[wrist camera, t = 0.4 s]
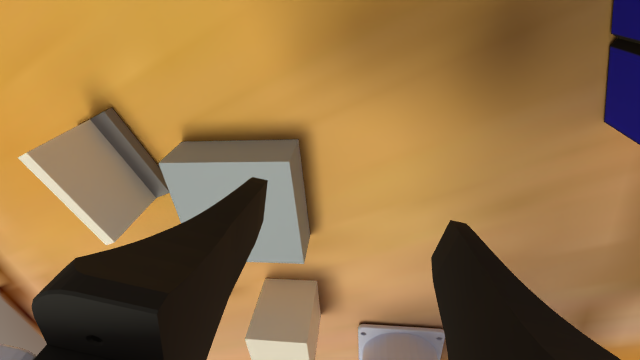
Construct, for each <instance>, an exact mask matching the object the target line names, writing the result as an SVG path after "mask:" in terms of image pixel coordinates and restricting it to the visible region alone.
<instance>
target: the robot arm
mask: <svg viewBox="0 0 640 360" xmlns="http://www.w3.org/2000/svg"><path fill="white" fill-rule="evenodd" d="M267 183H268V180H264V179H260V178H255V177H252V178H250V179H249V180H247V181H246V182H245V183H243V184H242V185H241V186H240V187H238V188H237V189H236V190H234V191H233V192H232V193H230V194H229V195H227V196H226V197H225V198H223V199H222V200H220V201H219V202H217V203H216V204H214V205H213V206H211V207H210V208H208V209H206V210H205V211H203V212H202V213H200V214H198V215H196V216H195V217H193V218H191V219H189V220H187V221H185V222H183V223H181V224H179V225H177V226H175V227H173V228H170V229H168V230H165V231H163V232H161V233H158V234H156V235H153V236H151V237H148V238H145V239H143V240H140V241H137V242H134V243H131V244H127V245H124V246H121V247H118V248H114V249H111V250H107V251H103V252H99V253H95V254H91V255H87V256H82V257H78V258H75V259H74V260H73V261H72V262H71V263H70V264H69V265H67V266H66V267H65V268H64V269H63V270H62V271H61V272H60V273H59V274H58V275H57V276H56V277H55V278H54V279H53V280H52V281H51V282H50V283H49V284H48V285H47V286H46V287H45V288H44V289H43V290H42V291H41V292H40V293H39V294H38V295H37V296H36V297H35V298H34V299H33V303H32V311H33V315H34V318H35V320H36V322H37V324H38V326H39V328H40V330H41V332H42V334H43V337H44V339H45V341H46V343H47V345H46V346H45V348H44V349H43V350H42V351H41V352H40V353H39V354H38V355H37V357H36V356H35V355H34V354H33V353H31V352H30V351H27V350H25V349H22V348H18V347H13V346H8V345H4V344H0V360H206V359H207V356H208V353H209V351H210V348H211V345H212V342H213V339H214V337H215V334H216V331H217V328H218V326H219V323H220V320H221V317H222V315H223V312H224V309H225V307H226V304H227V301H228V299H229V297H230V294H231V292H232V290H233V288H234V286H235V284H236V282H237V280H238V278H239V276H240V274H241V272H242V270H243V268H244V266H245V264H246V262H247V260H248V257H249V255H250V253H251V251H252V249H253V247H254V245H255V243H256V241H257V238H258V235H259V232H260V229H261V226H262V223H263V220H264V211H265V202H266V192H267ZM431 259H432V275H433V283H434V288H435V293H436V298H437V302H438V307H439V311H440V316H441V320H442V325H443V329H444V330H442V329H435V328H419V327H404V326H388V325H372V324H360V325H359V326H358V345H359V360H440V359H441V354H442V349H443V344H444V339H446V344H447V351H448V360H621V359H619V358H618V357H616V356H615V355H613V354H612V353H610V352H609V351H607V350H606V349H604V348H603V347H601V346H600V345H598V344H597V343H595V342H594V341H593V340H591V339H590V338H588V337H587V336H586V335H584V334H583V333H582V332H580V331H579V330H578V329H576V328H575V327H574V326H572V325H571V324H570V323H568V322H567V321H566V320H564V319H563V318H562V317H561V316H559V315H558V314H557V313H556V312H554V311H553V310H552V309H551V308H550V307H549V306H547V305H546V304H545V303H544V302H543V301H542V300H540V299H539V298H538V297H537V296H536V295H535V294H534V293H532V292H531V291H530V290H529V289H528V288H527V287H526V286H525V285H524V284H523V283H522V282H521V281H520V280H519V279H518V278H517V277H516V276H515V275H514V274H513V273H512V272H511V271H510V270H509V269H508V268H507V267H506V266H505V265H504V264H503V263H502V262H501V261H500V260H499V258H498V257H497V256H496V255H495V254H494V253H493V252H492V251H491V250H490V249H489V248H488V246H487V245H486V244H485V243H484V242H483V241H482V240H481V239H480V238H479V236H478V235H477V234H476V233H475V232H474V231H473V230H472V229H471V228H470V227H469V226H468V225H467V224H466V223H461V222H457V221H452V220H450V222H449V224H448V226H447V228H446V230H445V232H444V234H443V236H442V238H441V240H440V242H439V244H438V246H437V247H436V249H435V251H434V253H433V255H432V257H431Z"/></svg>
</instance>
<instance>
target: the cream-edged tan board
mask: <svg viewBox="0 0 640 360" xmlns="http://www.w3.org/2000/svg"><path fill="white" fill-rule="evenodd" d="M18 158H19V159H20V160H21V161H22V162H23V163H24V164H25V165H26V166H27V167H28V168H29V169H30V170H31V171H32V172H33V173H34V174H35V175H36V176H37V177H38V178H39V179H40V180H41V181H42V182H43V183H44V184H45V185H46V186H47V187H48V188H49V189H50V190H51V191H52V192H53V193H54V194H55V195H56V196H57V197H58V198H59V199H60V200H61V201H62V202H63V203H64V204H65V205H66V206H67V207H68V208H69V209H70V210H71V211H72V212H73V213H74V214H75V215H76V216H77V217H78V218H79V219H80V220H81V221H82V222H83V223H84V224H85V225H86V226H87V227H88V228H89V229H90V230H91V231H92V232H93V233H94V234H95V235H96V236H97V237H98V238H99V239H100V240H101V241H102V242H103V243H104V244H105V245H108V244H111V243H114V242H115V241H116V240H117V239H118V238H119V237H120V236H121V235H122V234H123V233H124V232H125V231H126V230H127V229H128V227H129V226H130V225H131V224H132V223H133V222H134V221H135V220H136V219H137V218H138V217H139V216H140V215H141V214H142V212H143V211H144V210H145V209H146V208H147V207H148V206H149V205H150V204H151V203H152V202H153V201H154V200H155V199H156V198H157V197H160V196H162V195H165V194H167V193H170V192H169V190H168V187H167V184H166V182H165V179H164V176H163V174H162V171H161V169H160V168H159V166H158V165H157V164H156V163H155V161H154V160H153V159H152V158H151V156H150V155H149V154H148V152H147V151H146V150H145V149H144V147H143V146H142V145H141V144H140V142H139V141H138V140H137V139H136V137H135V136H134V135H133V134H132V132H131V131H130V130H129V129H128V127H127V126H126V125H125V124H124V122H123V121H122V120H121V119H120V117H119V116H118V115H117V113H116V112H115V111H114V110H113V108H110V109H108V110H106V111H104V112H102V113H100V114H99V115H97V116H95V117H93V118H91V119H89V120H88V121H86V122H84V123H82V124H80V125H78V126H76V127H74V128H73V129H71V130H69V131H67V132H65V133H63V134H61V135H59V136H57V137H56V138H54V139H52V140H50V141H48V142H46V143H44V144H42V145H40V146H39V147H37V148H35V149H33V150H31V151H29V152H27V153H25V154H24V155H22V156H20V157H18Z"/></svg>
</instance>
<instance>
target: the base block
mask: <svg viewBox="0 0 640 360" xmlns="http://www.w3.org/2000/svg"><path fill="white" fill-rule="evenodd" d="M159 166H160V168H161V171H162V174H163V176H164V179H165V182H166V184H167V187H168V190H169V192H170V195H171V197H172V200H173V203H174V205H175V208H176V211H177V213H178V216H179V219H180V221H181V223H183V222H185V221H187V220H189V219H191V218H193V217H195V216H196V215H198V214H200V213H202V212H203V211H205V210H206V209H208V208H210V207H211V206H213V205H214V204H216V203H217V202H219V201H220V200H222V199H223V198H225V197H226V196H227V195H229V194H230V193H232V192H233V191H234V190H236V189H237V188H238V187H240V186H241V185H242V184H243V183H245V182H246V181H247V180H249V179H250V178H252V177H255V178H260V179H264V180H268V183H267V192H266V202H265V211H264V220H263V223H262V226H261V229H260V232H259V235H258V238H257V241H256V243H255V245H254V247H253V249H252V251H251V253H250V255H249V257H248V260H247V262H268V263H297V264H304V261H305V257H306V252H307V248H308V243H309V238H310V229H309V221H308V212H307V204H306V196H305V188H304V180H303V172H302V164H301V155H300V147H299V139H286V140H237V141H188V142H181V143H180V144H179V145H178V146H177V147H175V148H174V149H173V150H172V151H171V152H170V153H169V154H168V155H167V156H166V157H164V158H163V159H162V160H161V161H160V162H159Z"/></svg>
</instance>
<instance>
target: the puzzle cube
mask: <svg viewBox="0 0 640 360" xmlns="http://www.w3.org/2000/svg"><path fill="white" fill-rule="evenodd" d="M611 34H613V35H615V36H616V37H618V38H617V39H616V40H615V41H614V42H613V43H612V44H611V45H610V53H609V66H608V79H607V92H606V105H605V118H604V122H605V123H607V124H608V125H610V126H611V127H613V128H615V129H616V130H618V131H619V132H621V133H622V134H624V135H625V136H627V137H629V138H630V139H632V140H633V141H635V142H636V143H638V144H639V145H640V0H614V3H613V16H612V29H611Z"/></svg>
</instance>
